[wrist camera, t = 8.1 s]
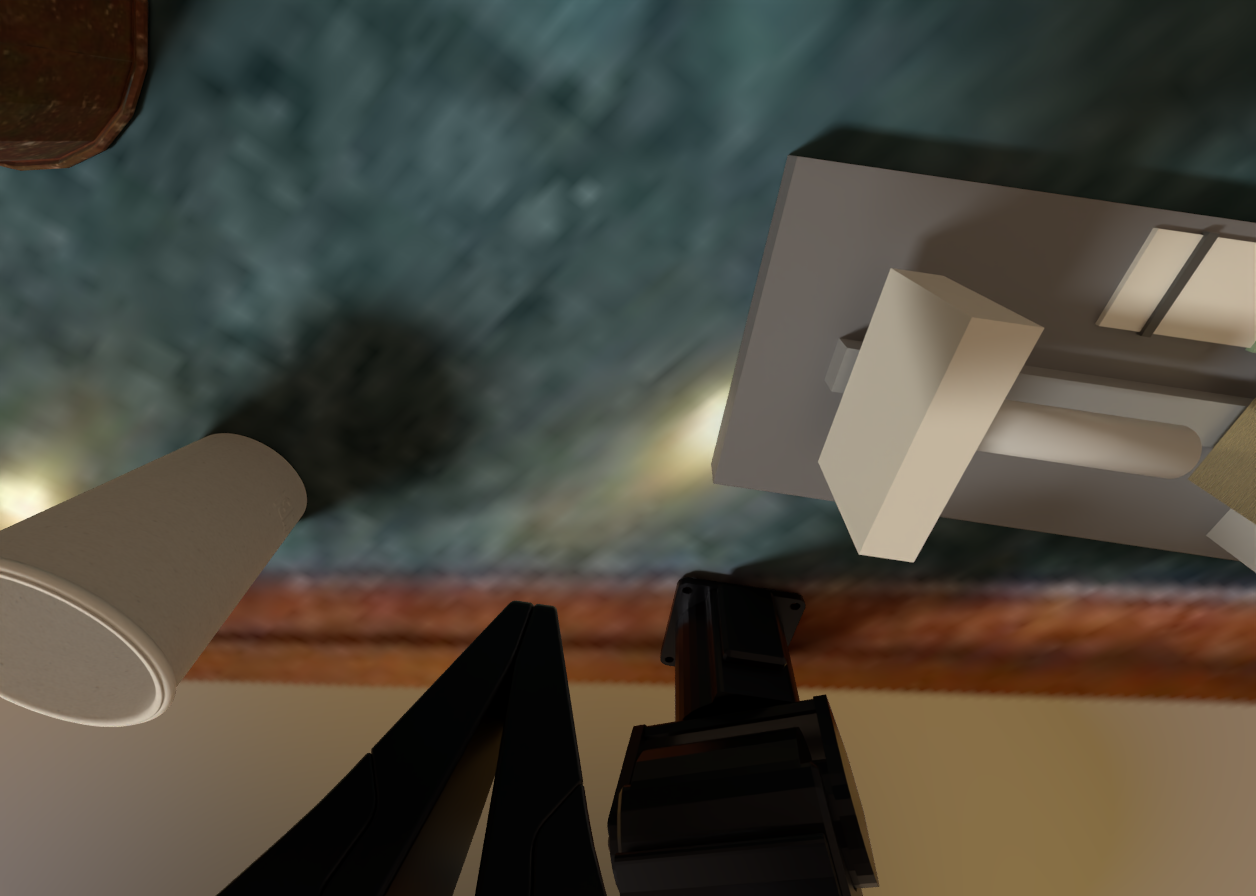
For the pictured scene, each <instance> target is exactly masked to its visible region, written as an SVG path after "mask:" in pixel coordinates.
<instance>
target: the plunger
mask: <svg viewBox="0 0 1256 896" xmlns="http://www.w3.org/2000/svg"><path fill="white" fill-rule="evenodd" d="M1043 330H1044V327H1042V326H1040V325H1038V324H1036V323H1034V322H1032V321H1030V320H1028V319H1026V318H1025V317H1023V316H1021V315H1019V314H1017V313H1015V312H1013V311H1011V310H1009V309H1007V308H1005V307H1003V306H1001V305H999V304H997V303H995V302H993V301H992V300H990V299H988V298H986V297H984V296H982V295H980V294H978V293H976V292H974V291H972V290H970V289H968V288H966V287H964V286H962V285H960V284H959V283H957V282H955V281H953V280H951V279H949V278H947V277H945V276H942V275H935V274H928V273H921V272H914V271H908V270H901V269H894V268H891V269H890V271H889V274H888V277H887V279H886V282H885V285H884V287H883V290H882V293H881V295H880V298H879V301H878V303H877V306H876V309H875V311H874V314H873V317H872V319H871V322H870V325H869V327H868V330H867V333H866V335H865V338H864V341H863V343H862V346H861V349H860V351H859V354H858V356H857V359H856V362H855V364H854V367H853V370H852V372H851V375H850V378H849V380H848V383H847V386H846V388H845V391H844V394H843V396H842V399H841V402H840V404H839V407H838V410H837V412H836V415H835V418H834V420H833V423H832V426H831V428H830V431H829V434H828V436H827V439H826V442H825V444H824V447H823V450H822V452H821V455H820V458H819V460H818V463H819V465H820V468H821V470H822V472H823V474H824V477H825V479H826V481H827V483H828V486H829V488H830V490H831V493H832V495H833V497H834V499H835V502H836V504H837V506H838V508H839V511H840V513H841V515H842V518H843V520H844V522H845V524H846V527H847V529H848V531H849V534H850V536H851V538H852V540H853V543H854V545H855V547H856V549H857V552H858V554H859V555H866V556H873V557H879V558H886V559H893V560H900V561H906V562H913V563H914V561H915V559H916V558H917V556H918V554H919V552H920V550H921V549H922V547H923V545H924V543H925V541H926V540H927V538H928V536H929V534H930V532H931V531H932V529H933V527H934V525H935V523H936V522H937V520H938V518H939V516H940V514H941V513H942V511H943V509H944V507H945V506H946V504H947V502H948V500H949V498H950V497H951V495H952V493H953V491H954V489H955V488H956V486H957V484H958V482H959V480H960V479H961V477H962V475H963V473H964V471H965V470H966V468H967V466H968V464H969V462H970V461H971V459H972V457H973V455H974V454H975V452H976V451H982V452H989V453H996V454H1003V455H1010V456H1016V457H1023V458H1030V459H1037V460H1044V461H1050V462H1057V463H1064V464H1071V465H1078V466H1084V467H1091V468H1098V469H1105V470H1112V471H1118V472H1125V473H1132V474H1139V475H1145V476H1152V477H1159V478H1166V479H1173V478H1178V477H1181V476H1183V475H1185V474H1187V473H1188V472H1190V471H1191V470H1192V469H1193V468H1194V467H1195V466H1196V464H1197V463H1198V461H1199V459H1200V456H1201V452H1202V444H1201V441H1200V438H1199V436H1198V435H1197V433H1196V432H1195V431H1194V430H1192V429H1191V428H1189V427H1186V426H1183V425H1177V424H1170V423H1163V422H1156V421H1149V420H1142V419H1136V418H1129V417H1122V416H1115V415H1108V414H1102V413H1095V412H1088V411H1081V410H1074V409H1068V408H1061V407H1054V406H1047V405H1040V404H1034V403H1027V402H1020V401H1013V400H1006V399H1005V398H1006V396H1007V394H1008V393H1009V391H1010V389H1011V387H1012V385H1013V384H1014V382H1015V380H1016V378H1017V376H1018V375H1019V373H1020V371H1021V369H1022V367H1023V366H1024V364H1025V362H1026V360H1027V359H1028V357H1029V355H1030V353H1031V351H1032V350H1033V348H1034V346H1035V344H1036V342H1037V341H1038V339H1039V337H1040V335H1041V333H1042V332H1043Z"/></svg>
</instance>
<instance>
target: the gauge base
mask: <svg viewBox="0 0 1256 896" xmlns="http://www.w3.org/2000/svg"><path fill="white" fill-rule="evenodd" d="M891 268H894V269H901V270H908V271H914V272H921V273H928V274H935V275H942V276H945V277H947V278H949V279H951V280H953V281H955V282H957V283H959V284H960V285H962V286H964V287H966V288H968V289H970V290H972V291H974V292H976V293H978V294H980V295H982V296H984V297H986V298H988V299H990V300H992V301H993V302H995V303H997V304H999V305H1001V306H1003V307H1005V308H1007V309H1009V310H1011V311H1013V312H1015V313H1017V314H1019V315H1021V316H1023V317H1025V318H1026V319H1028V320H1030V321H1032V322H1034V323H1036V324H1038V325H1040V326H1042V327H1044V330H1043V332H1042V333H1041V335H1040V337H1039V339H1038V341H1037V342H1036V344H1035V346H1034V348H1033V350H1032V351H1031V353H1030V355H1029V357H1028V359H1027V360H1026V362H1025V364H1024V366H1023V367H1022V369H1021V371H1020V373H1019V375H1018V376H1017V378H1016V380H1015V382H1014V384H1013V385H1012V387H1011V389H1010V391H1009V393H1008V394H1007V396H1006V398H1005V399H1006V400H1013V401H1020V402H1027V403H1034V404H1040V405H1047V406H1054V407H1061V408H1068V409H1074V410H1081V411H1088V412H1095V413H1102V414H1108V415H1115V416H1122V417H1129V418H1136V419H1142V420H1149V421H1156V422H1163V423H1170V424H1177V425H1183V426H1186V427H1189V428H1191V429H1192V430H1194V431H1195V432H1196V433H1197V435H1198V436H1199V438H1200V441H1201V444H1202V452H1201V456H1200V459H1199V461H1198V463H1197V464H1196V466H1195V467H1194V468H1193V469H1192V470H1191V471H1190V472H1188V473H1187V474H1185V475H1183V476H1181V477H1178V478H1173V479H1166V478H1159V477H1152V476H1145V475H1139V474H1132V473H1125V472H1118V471H1112V470H1105V469H1098V468H1091V467H1084V466H1078V465H1071V464H1064V463H1057V462H1050V461H1044V460H1037V459H1030V458H1023V457H1016V456H1010V455H1003V454H996V453H989V452H982V451H976V452H975V454H974V455H973V457H972V459H971V461H970V462H969V464H968V466H967V468H966V470H965V471H964V473H963V475H962V477H961V479H960V480H959V482H958V484H957V486H956V488H955V489H954V491H953V493H952V495H951V497H950V498H949V500H948V502H947V504H946V506H945V507H944V509H943V511H942V513H941V514H940V516H939V517H944V518H951V519H958V520H965V521H971V522H978V523H985V524H992V525H998V526H1005V527H1012V528H1019V529H1025V530H1032V531H1039V532H1046V533H1053V534H1059V535H1066V536H1073V537H1080V538H1086V539H1093V540H1100V541H1107V542H1113V543H1120V544H1127V545H1134V546H1141V547H1147V548H1154V549H1161V550H1168V551H1174V552H1181V553H1188V554H1195V555H1201V556H1208V557H1215V558H1222V559H1229V560H1235V561H1241V562H1242V563H1243V564H1245V565H1246V566H1247V567H1249V568H1250V569H1251V570H1253V571H1254V572H1255V573H1256V525H1255V524H1254V523H1252V522H1251V521H1249V520H1248V519H1246V518H1245V517H1243V516H1242V515H1240V514H1239V513H1237V512H1236V511H1234V510H1233V509H1231V508H1230V507H1228V506H1227V505H1225V504H1224V503H1222V502H1221V501H1219V500H1218V499H1216V498H1215V497H1213V496H1212V495H1210V494H1209V493H1207V492H1206V491H1204V490H1203V489H1201V488H1200V487H1198V486H1197V485H1195V484H1194V483H1192V482H1191V481H1189V480H1188V478H1189V477H1190V475H1191V474H1192V473H1193V472H1194V471H1195V469H1196V468H1197V467H1198V466H1199V465H1200V463H1201V462H1202V461H1203V460H1204V459H1205V457H1206V456H1207V455H1208V454H1209V453H1210V451H1211V450H1212V449H1213V448H1214V447H1215V445H1216V444H1217V443H1218V442H1219V441H1220V439H1221V438H1222V437H1223V436H1224V435H1225V433H1226V432H1227V431H1228V430H1229V429H1230V427H1231V426H1232V425H1233V424H1234V423H1235V421H1236V420H1237V419H1238V418H1239V417H1240V415H1241V414H1242V413H1243V412H1244V411H1245V410H1246V408H1247V407H1248V406H1249V405H1250V404H1251V402H1252V401H1253V400H1254V399H1255V398H1256V223H1253V222H1246V221H1239V220H1232V219H1225V218H1218V217H1211V216H1205V215H1198V214H1191V213H1184V212H1177V211H1170V210H1163V209H1156V208H1150V207H1143V206H1136V205H1129V204H1122V203H1115V202H1108V201H1101V200H1095V199H1088V198H1081V197H1074V196H1067V195H1060V194H1053V193H1046V192H1040V191H1033V190H1026V189H1019V188H1012V187H1005V186H998V185H991V184H985V183H978V182H971V181H964V180H957V179H950V178H943V177H936V176H930V175H923V174H916V173H909V172H902V171H895V170H888V169H881V168H875V167H868V166H861V165H854V164H847V163H840V162H833V161H826V160H820V159H813V158H806V157H799V156H792V155H788V157H787V161H786V165H785V169H784V173H783V177H782V181H781V185H780V189H779V193H778V197H777V202H776V206H775V210H774V214H773V218H772V222H771V226H770V230H769V234H768V238H767V242H766V246H765V250H764V254H763V258H762V262H761V266H760V270H759V274H758V278H757V282H756V286H755V290H754V294H753V298H752V302H751V306H750V310H749V314H748V318H747V322H746V326H745V330H744V334H743V338H742V342H741V346H740V350H739V355H738V359H737V363H736V367H735V371H734V375H733V379H732V383H731V387H730V391H729V395H728V399H727V403H726V407H725V411H724V415H723V419H722V423H721V427H720V431H719V435H718V439H717V443H716V447H715V451H714V455H713V459H712V463H711V466H712V475H713V483H714V484H721V485H728V486H734V487H741V488H748V489H755V490H761V491H768V492H775V493H782V494H789V495H795V496H802V497H809V498H816V499H822V500H829V501H835V499H834V497H833V495H832V493H831V490H830V488H829V486H828V483H827V481H826V479H825V477H824V474H823V472H822V470H821V468H820V465H819V463H818V460H819V458H820V455H821V452H822V450H823V447H824V444H825V442H826V439H827V436H828V434H829V431H830V428H831V426H832V423H833V420H834V418H835V415H836V412H837V410H838V407H839V404H840V402H841V399H842V396H843V394H844V391H845V388H846V386H847V383H848V380H849V378H850V375H851V372H852V370H853V367H854V364H855V362H856V359H857V356H858V354H859V351H860V349H861V346H862V343H863V341H864V338H865V335H866V333H867V330H868V327H869V325H870V322H871V319H872V317H873V314H874V311H875V309H876V306H877V303H878V301H879V298H880V295H881V293H882V290H883V287H884V285H885V282H886V279H887V277H888V274H889V271H890V269H891Z"/></svg>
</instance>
